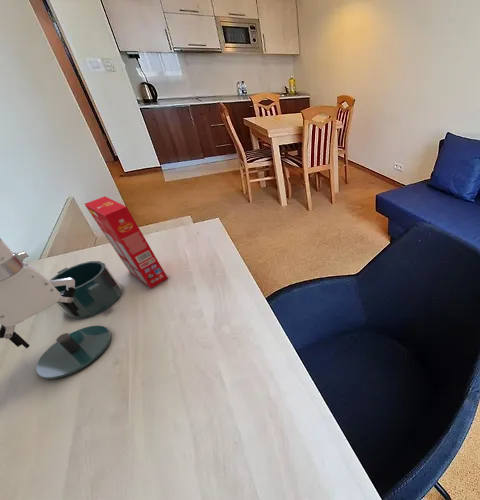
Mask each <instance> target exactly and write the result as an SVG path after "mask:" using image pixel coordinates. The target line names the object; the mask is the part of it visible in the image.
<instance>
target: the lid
mask: <svg viewBox="0 0 480 500" xmlns="http://www.w3.org/2000/svg"><path fill="white" fill-rule="evenodd" d="M111 336H112V335H111V332H110V329H108V328H107V327H105V326H103V325H91V326H86V327H82V328H80V329H77V330H75V331H72V332H70V333H68V332H66V333H63V334H60V335H59V336H58V337H57V338H56V340H55V341H56V342H54V343H53V344H52V345H50V347H48V348H47V350H45V351H44V353H43V354H42V355H41V356H40V358H39V360H38V361H37V363H36V366H35V371H36V374H37V375H38V376H39V377H40V378H42V379H47V380H55V379H60V378H64V377H66V376H67V377H68V376H70V375H72V374H74V373H76V372H78V371H80V370H81V369H83V368H84V367H87V366H88V365H90V364H91V363H92V362H93V361H95V360H96V359H97V358H98V357H99V356H100V355H102V353H103V352H104V351H105V350H106V348H107V347H108V345H109V344H110V341H111Z"/></svg>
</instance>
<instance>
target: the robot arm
mask: <svg viewBox="0 0 480 500" xmlns="http://www.w3.org/2000/svg"><path fill="white" fill-rule="evenodd" d="M27 258H29V254H28V253H27V252H26V251H25V250H23V251H20V252H13V251H12V249H11V248H10V247H9V246H8V245H7V244H6V242H5V241H4V240H3V239H2V238H1V237H0V339H5V340H8V341H10V342H11V343H13V344H14V345H15V346H16V347H17V348H19V347H20V346H23V347H24V348H25V349H28V348H30V346H31V345H30V344H29V343H28V342H27V341H25V339H24V338H22V337H21V336H20V334H18V333H17V332H16V331H15V329H16V325H19V324H20V323H22V322H25V321H26V320H28V319H30V318H31V317H33V316H35V315H37V314H39V313H41V312H42V311H43V310H46V309H47V308H49V307H51V306H53V305H54V304H57V303H56V302H61V303H62V304H63V305H64V306H65V308H66V309H67V310H68V311H69V312H70V313H71V314H72V315H74V316H76V317H78V316H79V313H78V312H77V311H78V310H79V308H78V307H77V306H76V305H75V304H74V302H73V296H74V293H75V280H74V279H73V278H64V279H57V280H51V279H48V278H46V276H44V275H43V274H42V273H41V272H40V271H38V269H36V268H35V267H34V266H33V265H31V264H30V263H29V262H27V261H24V260H25V259H27ZM63 285H66V289H65V291H64V294H60V293H59V291H58V290H57V289H56V288H55V287H57V286H63Z"/></svg>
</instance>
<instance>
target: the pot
mask: <svg viewBox="0 0 480 500" xmlns="http://www.w3.org/2000/svg"><path fill="white" fill-rule="evenodd" d="M56 273H57V274H56V275H55V276H53V277H52V278H51V279H50V280H57V279H64V278H73V279H74V280H75V293H74V296H73V302H74V304H75V305H76V306H77V307H78V308H79V310H78V311H77V312H78V313H79V316H78V317H76V316H74V315H72V314H71V313H70V312H69V311H68V310H67V309H66V308H65V306H64V305H63V304H62V303H61V302H56V303H55V304H56V305H57V306H58V307H60V309H61V310H62V311H63V312H64V313H65V314H66V315H67V316H68V317H69V318H71V319H75V320H76V319H77V320H78V319H86V318H89V317H92V316H95V315H97V314H100V313H102V312H103V311H106V310H107V309H109V308H110V307H111V306H112V305H114V304H115V303H116V302H117V301H118V300H119V299H120V298H121V296H122V294H123V288H122V286H121V284H120V283H119V282H118V280H117V279H116V278H115V276H114V275H113V274H112V272H111V270H110V269H109V267H108V266H107V265H106V263H105V262H102V261H100V260H91V261H85V262H82V263H81V262H80V263H79V264H75V265H73V266H70V267H64V268H62V269H61V270H59V271H57V272H56ZM55 288H56V289H57V290H58V291H59V293H60V294H64V291H65V289H66V285H63V286H57V287H55Z"/></svg>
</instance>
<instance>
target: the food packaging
mask: <svg viewBox="0 0 480 500" xmlns="http://www.w3.org/2000/svg"><path fill="white" fill-rule="evenodd" d="M84 206H85V207H86V209H87V210H88V212H89V213H90V215H91V216H92V218H93V219H94V221H95V222H96V224H97V225H98V227H99V229H100V230H101V231H102V233H103V235H104V236H105V237H106V239H107V240H108V242H109V244H110V246H112V248H113V249H114V251H115V252H116V254H117V256H118V257H119V258H120V260H121V261H122V263H123V265H124V266H125V267H126V269H127V270H128V272H129V273H130V274H131V275H132V276H134V277H135V278H137V279H138V280H139V281H141V282H142V283H143V284H144V285H146V286H147V287H149V288H150V289H153V288H154V287H156V286H158V285H159V284H162V283H163V282H164V281H166V280H168V279H169V277H168V276H167V274H166V272H165V270H164V269H163V267H162V266H161V263H160V261H159V260H158V259H157V257H156V255H155V253H154V251H153V250H152V248H151V247H150V245H149V243H148V241H147V239H146V238H145V235H144V234H143V232H142V231H141V230H140V229H141V228H140V227H139V226H138V224H137V223H136V221H135V219H134V216H132V213H131V212H130V210H129V208H128V207H127V206H126V205H124V204H122V203H120V202H118V201H116V200H114V199H111V198H109V197H107V196H106V195H105V196H102V197H99V198H97V199H93V200H91V201H89V202H85V203H84Z"/></svg>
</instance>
